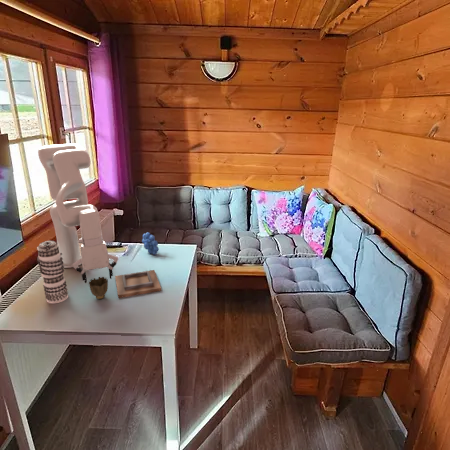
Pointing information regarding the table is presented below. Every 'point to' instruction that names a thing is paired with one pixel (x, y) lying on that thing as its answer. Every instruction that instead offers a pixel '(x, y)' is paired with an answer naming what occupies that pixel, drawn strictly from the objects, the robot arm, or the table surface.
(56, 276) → the decorative candle
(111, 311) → the table surface
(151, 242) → the grapes
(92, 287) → the cup
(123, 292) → the mounting board
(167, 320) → the table surface
